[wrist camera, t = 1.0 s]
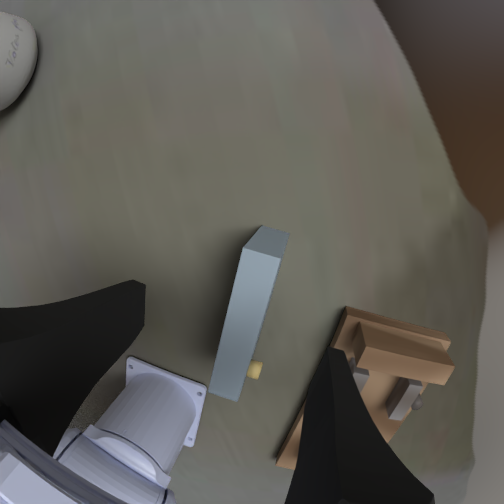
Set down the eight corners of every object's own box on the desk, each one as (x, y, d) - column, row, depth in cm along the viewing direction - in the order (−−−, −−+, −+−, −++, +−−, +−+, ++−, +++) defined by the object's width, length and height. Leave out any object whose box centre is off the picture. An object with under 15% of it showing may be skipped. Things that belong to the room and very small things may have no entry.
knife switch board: (357, 469, 27) (358, 505, 23) (277, 454, 28) (270, 491, 24) (445, 332, 22) (467, 366, 17) (345, 306, 23) (352, 339, 18)
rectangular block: (264, 353, 25) (249, 405, 19) (231, 343, 26) (207, 392, 20) (300, 236, 23) (296, 263, 16) (262, 225, 23) (242, 247, 17)
